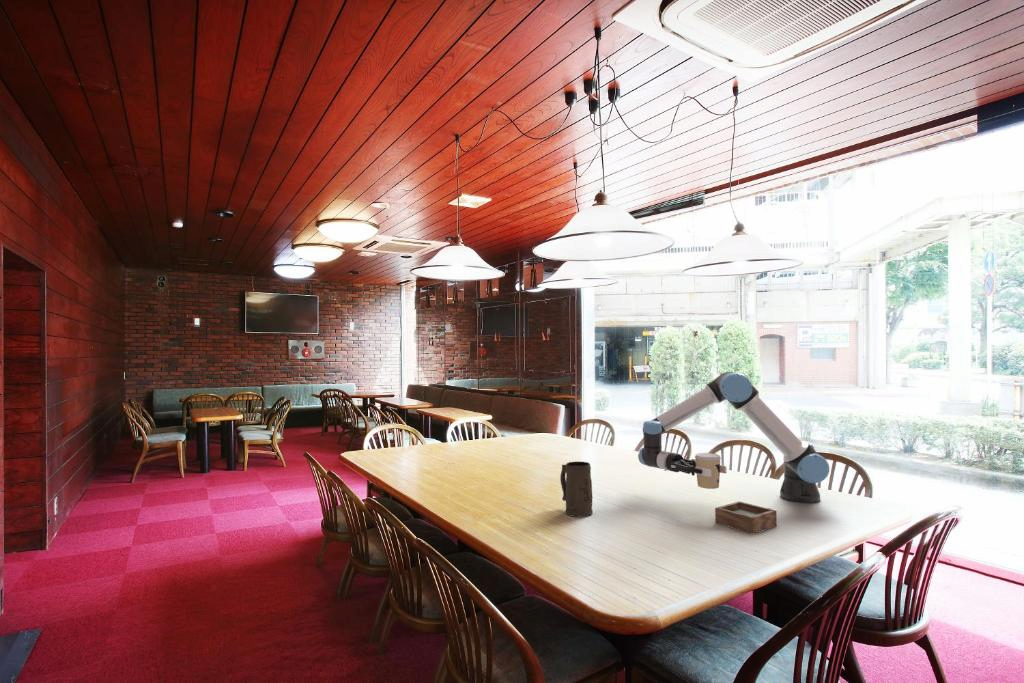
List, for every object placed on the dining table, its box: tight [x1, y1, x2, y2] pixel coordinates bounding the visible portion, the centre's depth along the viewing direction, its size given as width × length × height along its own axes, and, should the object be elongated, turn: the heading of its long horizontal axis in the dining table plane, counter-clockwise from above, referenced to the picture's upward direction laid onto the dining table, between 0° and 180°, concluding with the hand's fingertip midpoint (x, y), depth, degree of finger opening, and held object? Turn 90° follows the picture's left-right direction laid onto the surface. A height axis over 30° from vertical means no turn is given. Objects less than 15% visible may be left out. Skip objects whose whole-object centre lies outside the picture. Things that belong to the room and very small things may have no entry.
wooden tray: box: [714, 500, 778, 535], centre depth 192 cm, size 15×15×6 cm
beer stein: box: [559, 461, 594, 517], centre depth 210 cm, size 15×11×20 cm
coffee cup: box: [694, 452, 722, 490], centre depth 203 cm, size 9×9×12 cm
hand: (718, 471), depth 199 cm, fingers closed on coffee cup, 9 cm apart
